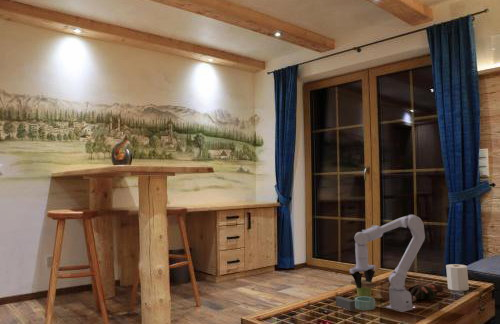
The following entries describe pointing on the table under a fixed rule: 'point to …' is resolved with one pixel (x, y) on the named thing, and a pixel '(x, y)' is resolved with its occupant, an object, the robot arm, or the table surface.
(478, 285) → the table surface
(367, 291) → the plant pot
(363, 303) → the bowl
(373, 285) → the walnut board
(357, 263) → the robot arm
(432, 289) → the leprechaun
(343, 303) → the grey rectangular block
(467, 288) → the toilet paper
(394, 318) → the table surface
